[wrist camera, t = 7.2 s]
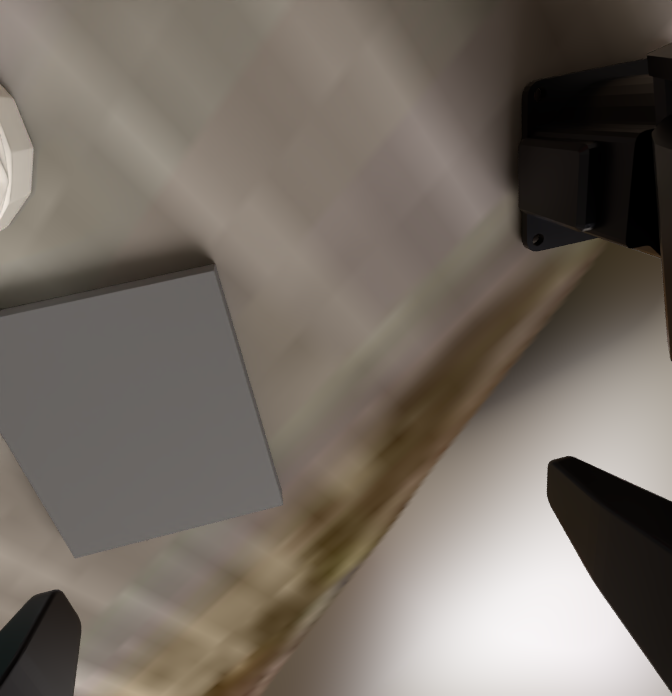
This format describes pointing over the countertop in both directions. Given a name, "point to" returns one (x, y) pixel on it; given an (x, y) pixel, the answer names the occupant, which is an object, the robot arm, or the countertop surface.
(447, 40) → the countertop surface
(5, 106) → the white cup
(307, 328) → the countertop surface
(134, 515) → the mat
